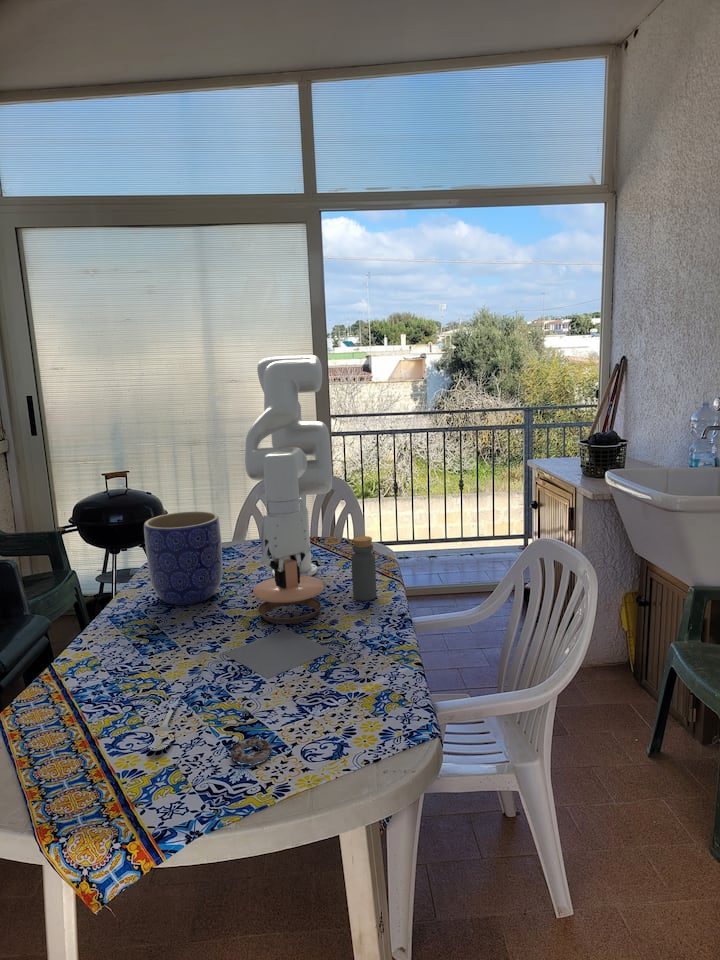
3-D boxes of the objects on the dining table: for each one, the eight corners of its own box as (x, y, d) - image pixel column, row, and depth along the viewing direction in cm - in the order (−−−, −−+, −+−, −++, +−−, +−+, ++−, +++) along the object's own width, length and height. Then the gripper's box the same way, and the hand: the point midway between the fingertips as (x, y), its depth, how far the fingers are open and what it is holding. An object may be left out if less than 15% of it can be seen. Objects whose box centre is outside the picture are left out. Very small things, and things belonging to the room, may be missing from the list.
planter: (215, 609, 158) (208, 527, 154) (140, 612, 159) (131, 529, 155) (232, 584, 176) (226, 509, 173) (165, 586, 177) (157, 512, 173)
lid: (240, 591, 151) (237, 562, 150) (295, 575, 162) (293, 547, 161) (280, 608, 140) (278, 576, 138) (337, 589, 150) (335, 559, 149)
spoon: (143, 760, 99) (141, 750, 98) (167, 693, 119) (166, 685, 119) (171, 757, 99) (170, 747, 99) (190, 691, 119) (189, 683, 119)
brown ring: (301, 600, 162) (300, 590, 162) (334, 618, 150) (333, 606, 150) (247, 616, 154) (246, 605, 153) (277, 635, 142) (276, 623, 142)
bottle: (377, 592, 165) (375, 535, 162) (375, 601, 159) (373, 541, 157) (354, 592, 166) (351, 535, 163) (351, 601, 160) (349, 541, 157)
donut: (289, 753, 99) (288, 741, 99) (254, 782, 93) (253, 769, 93) (249, 737, 104) (248, 725, 104) (212, 763, 98) (211, 751, 97)
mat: (222, 655, 133) (222, 652, 132) (287, 631, 143) (286, 629, 143) (267, 681, 121) (267, 678, 121) (334, 653, 131) (333, 650, 131)
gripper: (301, 498, 156) (306, 572, 159) (242, 510, 145) (248, 590, 148) (321, 502, 150) (326, 579, 153) (261, 515, 139) (267, 597, 142)
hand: (288, 583), depth 151 cm, fingers closed on lid, 3 cm apart
